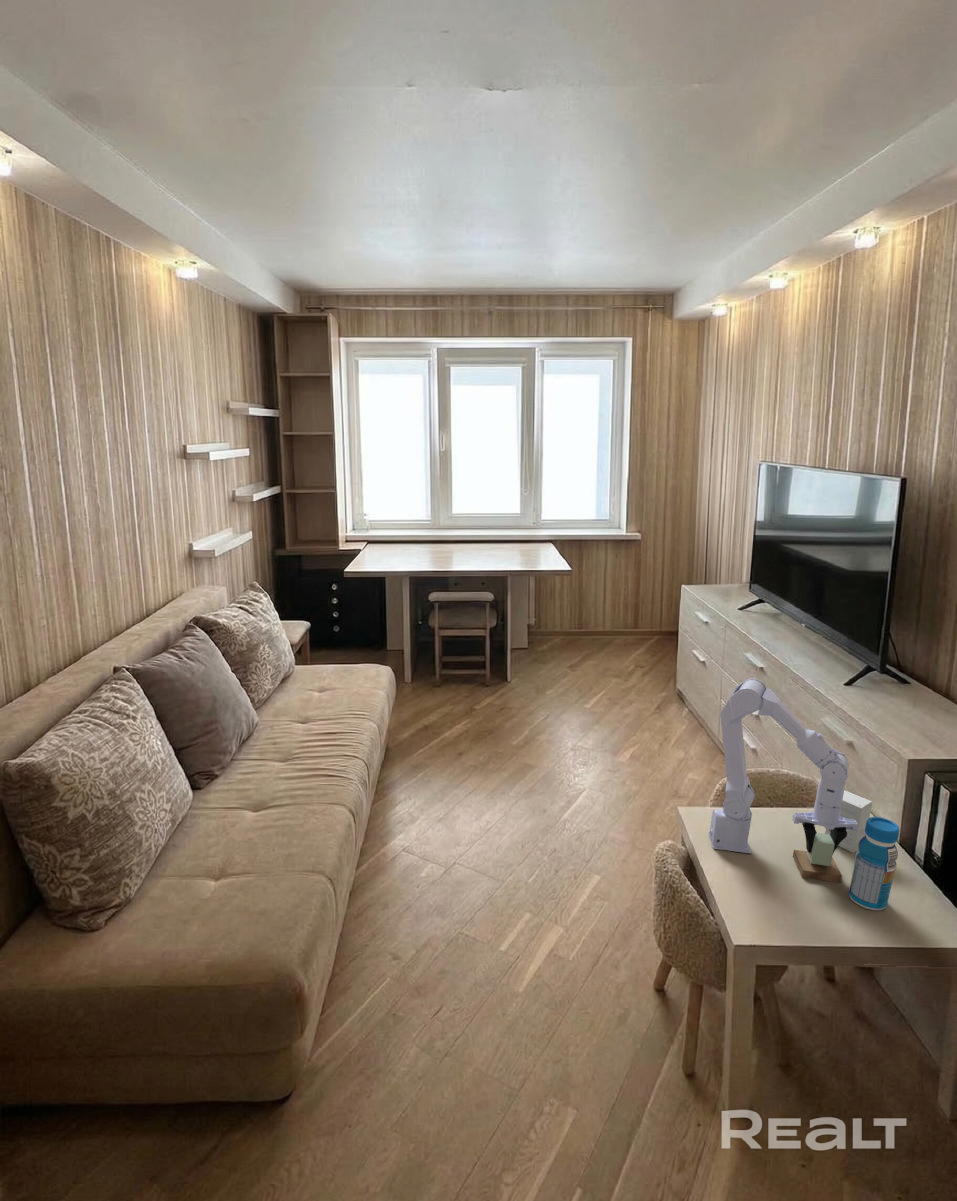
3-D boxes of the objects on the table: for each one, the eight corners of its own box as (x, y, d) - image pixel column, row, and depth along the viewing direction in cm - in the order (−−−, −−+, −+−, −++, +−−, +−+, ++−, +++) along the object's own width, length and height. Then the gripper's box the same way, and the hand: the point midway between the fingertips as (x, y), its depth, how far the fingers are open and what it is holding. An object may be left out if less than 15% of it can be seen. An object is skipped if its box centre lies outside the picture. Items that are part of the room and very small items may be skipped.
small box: (864, 845, 200) (873, 801, 197) (853, 853, 196) (862, 808, 193) (834, 832, 206) (842, 788, 203) (822, 839, 202) (831, 795, 199)
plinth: (801, 877, 185) (803, 870, 184) (792, 856, 193) (793, 849, 193) (840, 882, 184) (841, 875, 183) (829, 861, 192) (830, 854, 192)
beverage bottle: (852, 908, 174) (868, 830, 169) (843, 886, 182) (858, 811, 177) (892, 915, 172) (909, 836, 167) (881, 893, 180) (898, 817, 175)
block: (810, 863, 186) (815, 841, 184) (806, 853, 190) (810, 831, 189) (830, 866, 185) (834, 844, 184) (825, 855, 189) (829, 834, 188)
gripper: (801, 806, 181) (792, 856, 184) (865, 814, 179) (855, 865, 183) (794, 792, 188) (785, 841, 191) (855, 799, 186) (846, 848, 189)
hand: (819, 851), depth 187 cm, fingers closed on block, 4 cm apart
